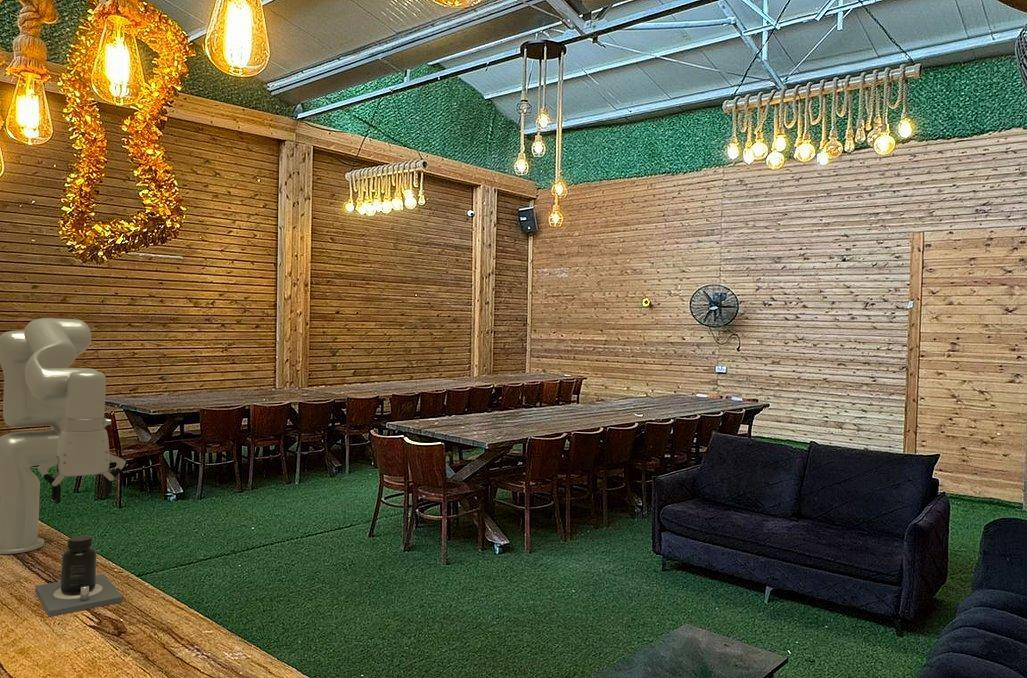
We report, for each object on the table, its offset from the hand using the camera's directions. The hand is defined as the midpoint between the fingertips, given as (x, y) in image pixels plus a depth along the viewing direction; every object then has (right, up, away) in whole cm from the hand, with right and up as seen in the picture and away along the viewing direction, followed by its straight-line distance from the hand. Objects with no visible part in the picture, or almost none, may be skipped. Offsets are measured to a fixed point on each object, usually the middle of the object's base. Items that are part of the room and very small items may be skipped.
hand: (81, 499), depth 161 cm
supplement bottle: (-1, -21, 0) cm, 21 cm away
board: (-1, -22, 0) cm, 22 cm away
